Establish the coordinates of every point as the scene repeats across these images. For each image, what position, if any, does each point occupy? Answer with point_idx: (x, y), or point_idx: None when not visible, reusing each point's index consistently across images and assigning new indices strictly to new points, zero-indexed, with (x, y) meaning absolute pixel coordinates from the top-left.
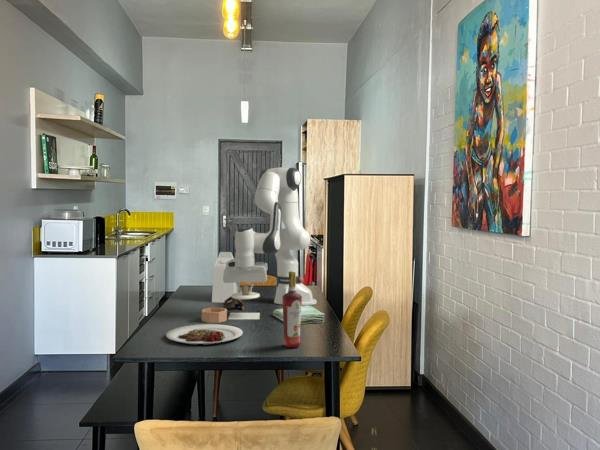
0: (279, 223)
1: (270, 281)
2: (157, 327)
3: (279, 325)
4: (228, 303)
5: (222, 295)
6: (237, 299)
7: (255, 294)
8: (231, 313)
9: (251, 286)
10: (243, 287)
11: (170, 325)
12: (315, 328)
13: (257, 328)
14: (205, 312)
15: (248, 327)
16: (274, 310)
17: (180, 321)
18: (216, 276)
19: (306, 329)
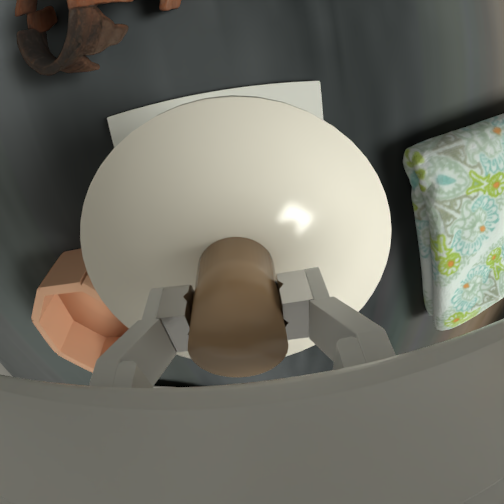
0: None
1: None
2: (19, 367)
3: (398, 317)
4: (54, 72)
5: None
6: (103, 2)
7: (348, 247)
8: (120, 136)
9: (329, 354)
10: (219, 367)
11: (25, 352)
12: (476, 320)
13: (316, 364)
14: (81, 364)
15: (282, 360)
16: (425, 181)
17: (8, 308)
18: None
19: (453, 335)
